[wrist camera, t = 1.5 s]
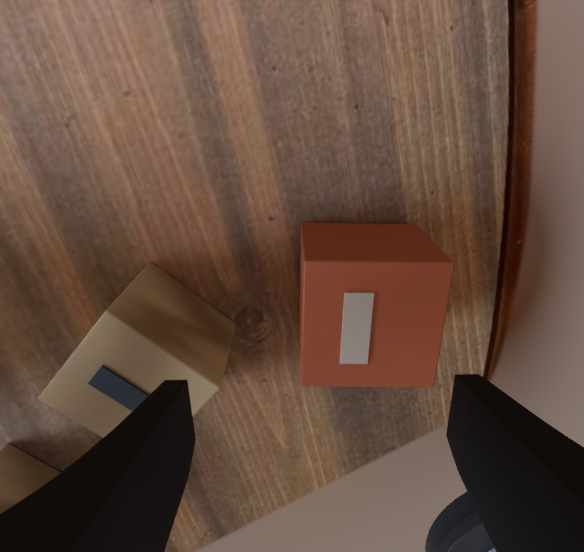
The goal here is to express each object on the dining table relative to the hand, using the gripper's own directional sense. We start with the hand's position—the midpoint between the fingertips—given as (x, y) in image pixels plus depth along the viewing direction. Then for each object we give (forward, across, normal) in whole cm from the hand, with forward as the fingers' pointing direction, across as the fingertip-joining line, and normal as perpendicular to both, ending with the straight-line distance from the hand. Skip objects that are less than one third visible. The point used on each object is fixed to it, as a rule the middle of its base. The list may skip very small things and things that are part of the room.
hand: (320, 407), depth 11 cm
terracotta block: (+9, -2, 0) cm, 9 cm away
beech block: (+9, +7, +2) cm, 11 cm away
